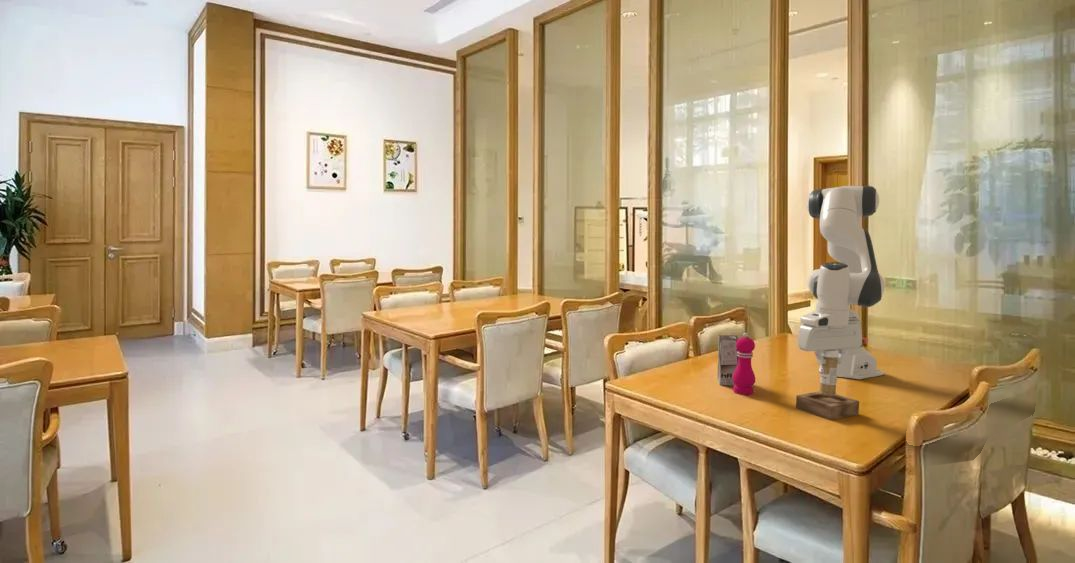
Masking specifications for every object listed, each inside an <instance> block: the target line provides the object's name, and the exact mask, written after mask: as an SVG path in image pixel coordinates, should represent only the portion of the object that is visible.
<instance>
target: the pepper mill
mask: <svg viewBox="0 0 1075 563" xmlns="http://www.w3.org/2000/svg"><path fill="white" fill-rule="evenodd" d="M738 338H739V337H738ZM755 347H756V344H755V341H754V340H753V339H752V338H750V337H749V333H748V332H743V334H742V337H740V338H739V339H738V340H737V341H736V348H737V350H738V351H737V356H738V365H737V367H736V369H735V371H734V374H733V378H732V380H733V382H734V383H735V385H734V386H733V393H735V394H737V395H738V394H739V395H741V396H742V395H744V396H746V395H747V396H748V395H753V394H754V387H753V386H754V385H755V383H756V375H755V372H754V370H753V367H752V358H753V357H754V356H753V355H754V353H753V351H754V350H755Z"/></svg>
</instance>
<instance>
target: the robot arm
mask: <svg viewBox="0 0 1075 563" xmlns="http://www.w3.org/2000/svg"><path fill="white" fill-rule="evenodd" d="M879 206H880V196H879V193H878V191H877V189H876V188H875V187H874V186H872V185H863V186H861V185H842V186H836V187H829V188H823V189H822V188H819V189H815V190H812V191H811V192H810V193H809V196H808V197H807V201H806V209H807V211H808V213H809V216H810V217H811V218H812V219H816V220H819V232H820V234H821V236H822V237H823V238H824V239H825V240H826V242H827V253H828V255H829V256H830V258H832V259H833V260H835V261H830V262H825V263H822V264H821V265H820V268H818V269H814V270H813V271H811V272H810V273H809V275H808V278H807V287H808V289H809V291H810V292H811V294H812V296H813V297H814V298H815V299H816V300H817V302H816V306H815V310H813V311H811V312H808V313H807V314H804V315H802V316H800V320H799V321H800V324H801V325H800V327H799V329H798V334H797V335H798V337H797V346H798V348H799V349H800V350H802V351H805V352H814V354H815V357H816V358H817V361H816V362H817V365H819V369H818V372H820V373H821V365H825V364H826V359H823V356H822V354H823V352H824V350H838V359H837V377H839V378H848V379H854V380H855V379H856V380H863V379H868V378H875V377H879V376H883V375H885V374H884V373H885V372H884V371H883V370H880V369H878V368H877V366H878V365H877V358H876V356H874V355H873V354H871V353H870V352H869V351H868V350H867V349H865V348H864V347H863V344H868V343H869V338H866V337H863V334H862V332H863V330H862V324H861V323H862V322H861V319H860V315H859V314H858V313H857V312H856V311H855V310H853V309H852V308H850V305H852V306H861V307H867V308H871V307H873V306H874V305H876V304H878V303H879V302H880V301H881V300H882V299H883V295H884V291H885V289H886V282H885V279H884V277H883V276H882V274H880V272H879V271H878V265H877V261H876V260H877V259H876V257H875V256H876V255H875V250H874V246H873V242H872V238H871V235H870V232H869V230H866V229H865V228H863V227H862V219H861V217H863V219H866V218H867V217H870V216H873V215H874V214H875V213H876V212H877V209H878V208H879ZM837 261H838V262H837Z"/></svg>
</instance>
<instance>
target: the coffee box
mask: <svg viewBox="0 0 1075 563" xmlns="http://www.w3.org/2000/svg"><path fill="white" fill-rule="evenodd" d="M738 339H739V336H738V335H734V334H733V335H730V334H729V335H727V334H725V335H722V334H719V335H718V344H717V345H718V347H717V348H718V349H717V350H718V352H717V380H718V384H719V386H732V387H734V385H735V383H734V382H733V380H732V378H733V374H734V371H735V369H736V367H737V365H738V356H737V351H738V350H737V348H736V341H737V340H738Z"/></svg>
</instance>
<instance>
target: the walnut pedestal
mask: <svg viewBox="0 0 1075 563" xmlns="http://www.w3.org/2000/svg"><path fill="white" fill-rule="evenodd" d="M795 402H796V403H795V408H796V409H797V410H800V411H803V412H806V413H809V414H811V415H815V416H817V417H819V418H820V417H821V418H823V419H826V420H829V421H834V420H839V419H843V418H847V417H853V416H857V415H858V416H859V414H860V413H859V412H860V400H856V399H853V398H850V397H847V396H843V395H839V394H837V393H836V395H834V396H826V395H822V394H820V392H819V391H814V392H808V393H803V394H797V395H796V401H795Z"/></svg>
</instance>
